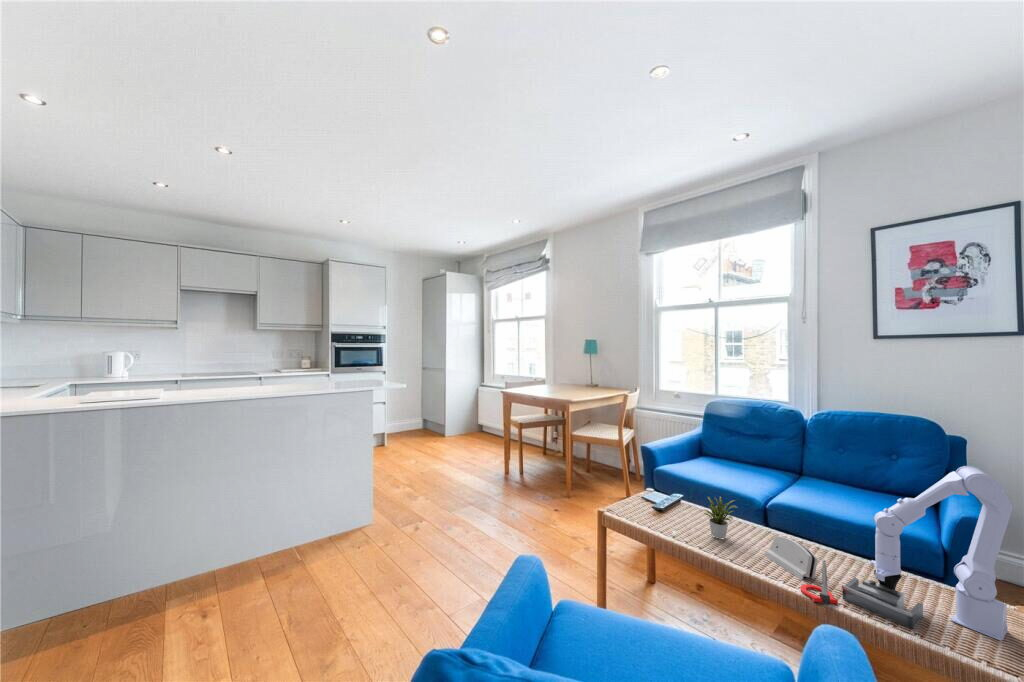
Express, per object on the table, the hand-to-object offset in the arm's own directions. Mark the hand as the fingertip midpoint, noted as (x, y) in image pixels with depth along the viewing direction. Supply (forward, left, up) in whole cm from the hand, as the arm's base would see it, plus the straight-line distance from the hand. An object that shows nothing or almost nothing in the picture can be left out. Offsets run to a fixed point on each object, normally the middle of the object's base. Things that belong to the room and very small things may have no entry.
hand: (887, 596), depth 126 cm
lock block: (0, +5, -2) cm, 5 cm away
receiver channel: (0, +6, -1) cm, 6 cm away
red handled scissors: (+13, +15, -2) cm, 20 cm away
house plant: (+51, +3, -2) cm, 51 cm away
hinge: (+25, +3, -2) cm, 26 cm away
